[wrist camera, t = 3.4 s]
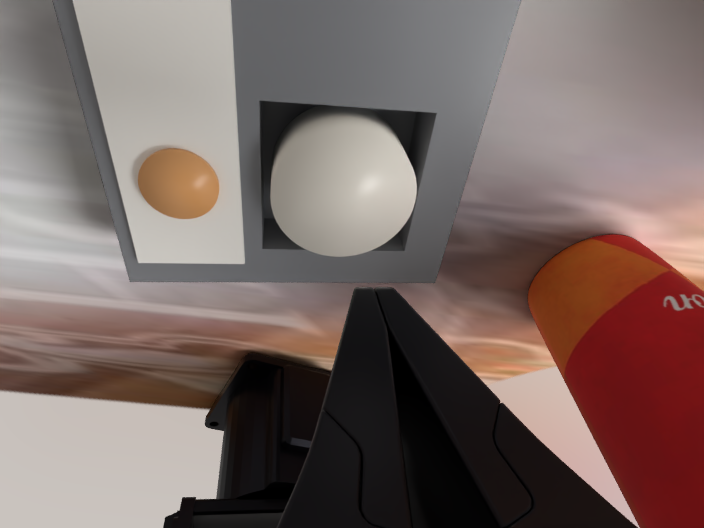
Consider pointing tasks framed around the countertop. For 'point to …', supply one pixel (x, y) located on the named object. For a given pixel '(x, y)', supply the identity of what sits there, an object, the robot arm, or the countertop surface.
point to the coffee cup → (632, 368)
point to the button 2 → (341, 181)
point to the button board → (274, 121)
